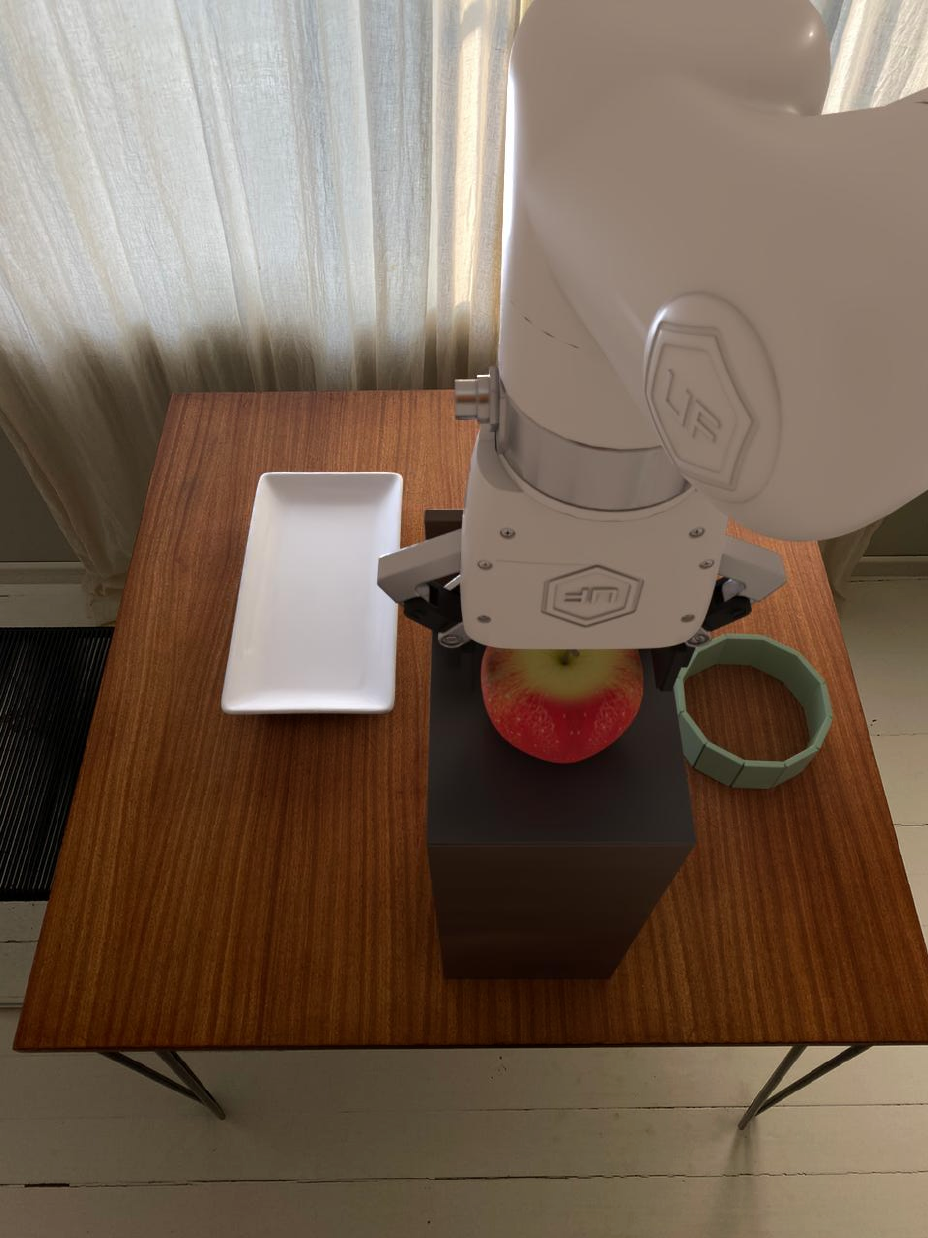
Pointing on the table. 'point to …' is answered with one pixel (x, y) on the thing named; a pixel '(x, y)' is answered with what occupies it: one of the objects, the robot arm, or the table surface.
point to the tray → (316, 597)
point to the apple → (561, 698)
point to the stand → (547, 831)
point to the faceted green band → (778, 665)
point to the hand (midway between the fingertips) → (564, 666)
